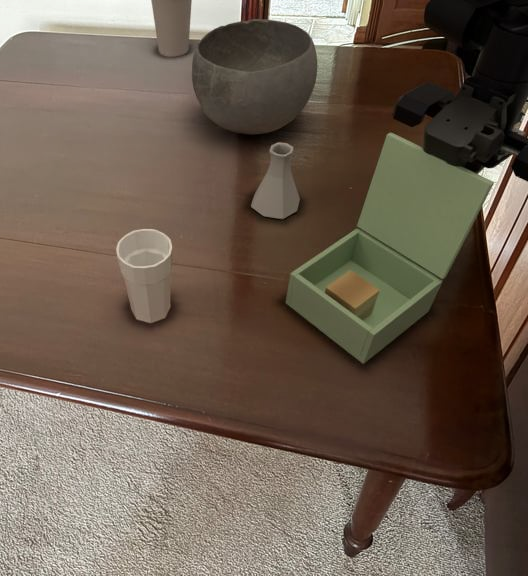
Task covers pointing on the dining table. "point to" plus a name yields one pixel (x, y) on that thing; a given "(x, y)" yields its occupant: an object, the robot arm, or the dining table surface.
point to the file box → (377, 271)
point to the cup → (146, 272)
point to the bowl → (254, 74)
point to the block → (354, 294)
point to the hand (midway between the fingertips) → (455, 191)
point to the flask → (277, 186)
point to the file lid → (422, 204)
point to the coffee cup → (172, 26)
